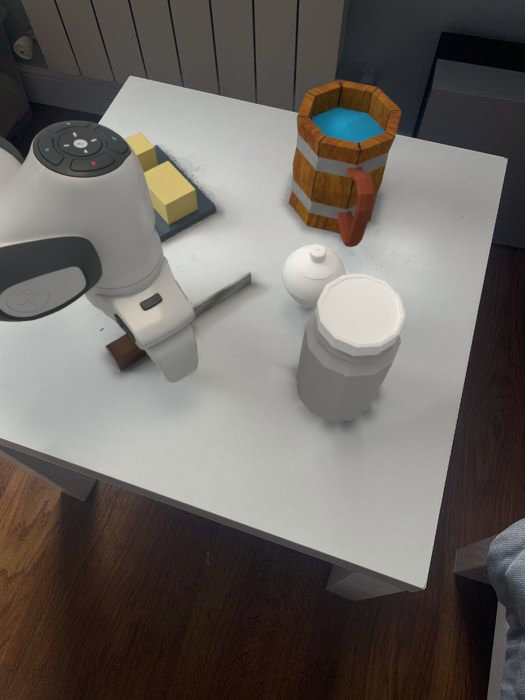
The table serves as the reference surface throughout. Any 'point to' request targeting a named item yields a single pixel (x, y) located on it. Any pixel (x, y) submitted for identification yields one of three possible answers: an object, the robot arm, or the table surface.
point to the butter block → (170, 192)
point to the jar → (349, 346)
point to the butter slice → (143, 151)
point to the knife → (129, 352)
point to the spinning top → (311, 272)
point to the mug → (342, 156)
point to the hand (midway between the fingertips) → (144, 337)
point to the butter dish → (203, 211)
